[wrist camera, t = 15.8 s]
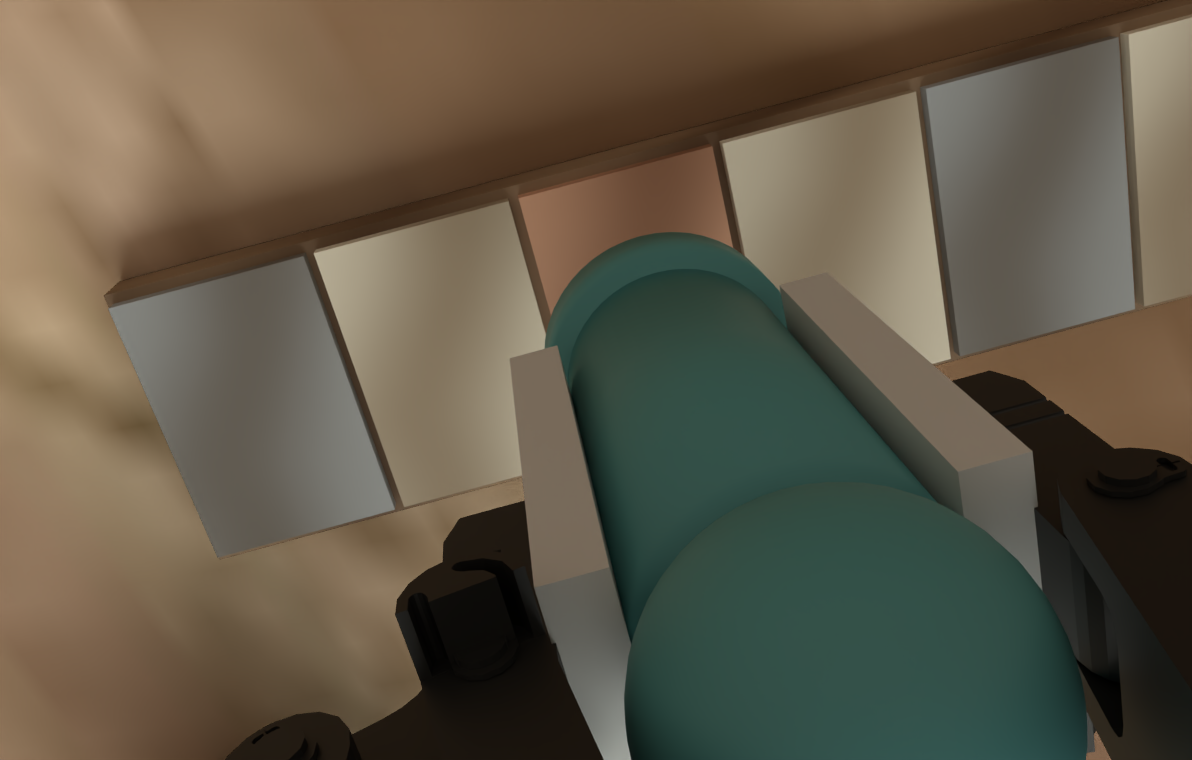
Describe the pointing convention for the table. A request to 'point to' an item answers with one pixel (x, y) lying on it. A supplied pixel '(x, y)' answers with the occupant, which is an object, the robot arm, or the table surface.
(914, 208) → the board
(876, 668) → the pawn
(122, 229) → the table surface
